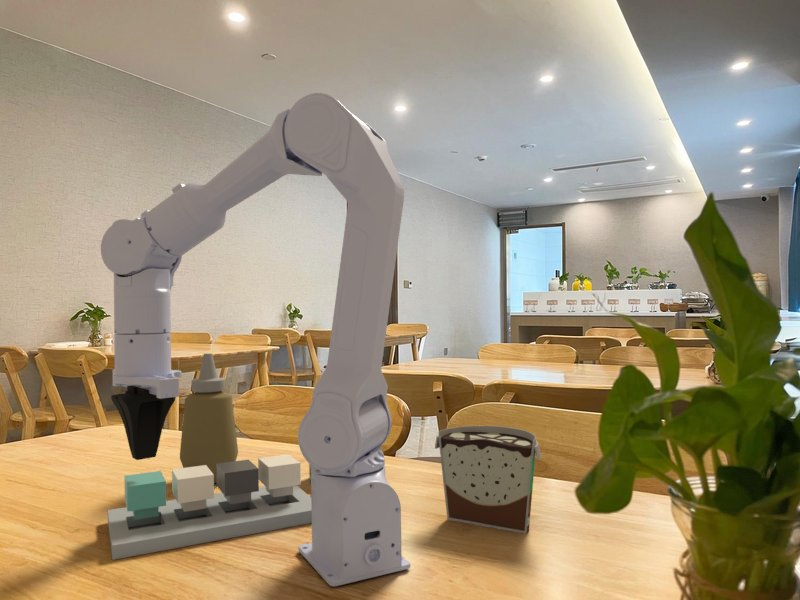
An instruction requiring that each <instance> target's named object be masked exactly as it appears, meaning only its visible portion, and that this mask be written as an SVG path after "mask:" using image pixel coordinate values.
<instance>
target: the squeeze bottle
mask: <svg viewBox="0 0 800 600" xmlns="http://www.w3.org/2000/svg"><path fill="white" fill-rule="evenodd" d="M199 370H200V371H199V375H198V378H193V379H191V382H190V383H191V392H192V393H190V394H188V395H187V396H186V397H184V403H183V414H182V415H183V417H182V425H181V426H182V427H181V437H180V449H179V450H180V451H179V460H180V462H181V465H182V468H187V467H195V466H202V465H206V466H207V467H208V468H209V469H210V471H211V472H212V473H213V474H214V484H217V466H216V464H218V463H225V462H233V461H237V458H238V456H239V449H238V439H237V429H236V422H235V411H234V404H233V397H232V395H231V394H230V393H228V392H225V390H226V378H224V377H219V376H218V374H217V368H216V364H215V360H214V355H213V353H203V355H202V361H201V366H200V369H199Z"/></svg>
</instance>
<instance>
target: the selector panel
mask: <svg viewBox="0 0 800 600" xmlns="http://www.w3.org/2000/svg"><path fill="white" fill-rule="evenodd" d="M206 505H207V508H205V509H199V510H193V511H186V512H184V511H183V509H182V507H181V505H180V504H178V503H177V501H176V499H171V500H166V506H160V507H159V516H155V517H149V518H143V519H137V520H134V516H133V512H132V511H128V512H127V507H126V506H125V507H118V508H112V509H108V510H107V525H108V532H109V535H108V536H109V540H110V551H111V558H112V560H113V561H114V560H119V559H125V558H130V557H131V558H132V557H134V556H140V555H141V556H142V555H146V554H152V553H157V552H161V551H167V550H174V549H179V548H184V547H188V546H194V545H200V544H206V543H210V542H215V541H216V542H217V541H222V540H226V539H232V538H238V537H242V536H248V535H253V534H259V533H264V532H269V531H274V530H281V529H285V528H290V527H296V526H302V525H307V524H312V510H311V496H310V495H309V494H307V493H306V492H305V491H304V490H303V489H302V488H300V486H299V485H296V486H293V494H292V495H285V496H279V497H273V496H272V495H270V494H269V493H268V492H267V491H266V486H265V485H264V486H259V491H257V492H251V501H248V502H242V503H236V504H229V502H228V501H227V500H226V498H225V497H224V494H223V493H222V492H217V493H214V498H212V499H206Z"/></svg>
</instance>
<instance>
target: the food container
mask: <svg viewBox="0 0 800 600" xmlns="http://www.w3.org/2000/svg"><path fill="white" fill-rule="evenodd" d="M434 449H439V452H440V453H439V454H440V462H441V471H442V472H441V473H442V481H443V489H444V490H443V491H444V501H445V507H446V508H445V510H446V518H447V520H448V521H449V520H450V521H453V522H460V523H464V524H465V523H466V524H469V525H476V526H482V527H486V528H492V529H498V530H502V531H503V530H504V531H509V532H514V533H519V534H526V535H527V534H528V532H529V531H530V523H531V522H530V521H531V513H532V511H531V510H532V501H533V500H532V499H533V485H534V476H535V463H536V461H537V462H538V461H540V460H541V458H542V453H541V449H540V443H539V441H538V440H537V437H536V435H535V434H534V433H533V432H530V431H528V430H525V429H521V428H516V427H508V426H496V425H465V426H455V427H449V428H445V429H441V430H438V435H436V439H435V444H434Z"/></svg>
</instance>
